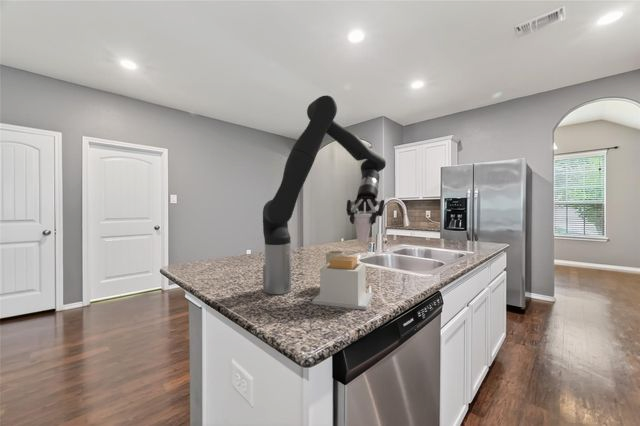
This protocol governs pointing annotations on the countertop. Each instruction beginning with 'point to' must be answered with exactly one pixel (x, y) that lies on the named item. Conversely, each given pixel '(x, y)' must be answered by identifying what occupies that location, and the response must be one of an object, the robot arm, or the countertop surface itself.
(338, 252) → the character mug
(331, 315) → the countertop surface
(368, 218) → the smoothie
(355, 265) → the orange block
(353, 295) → the white open box
